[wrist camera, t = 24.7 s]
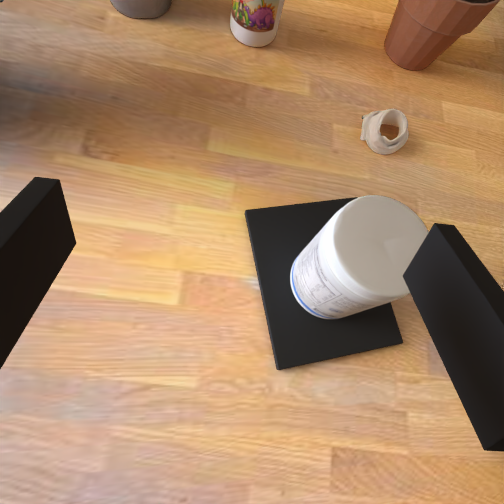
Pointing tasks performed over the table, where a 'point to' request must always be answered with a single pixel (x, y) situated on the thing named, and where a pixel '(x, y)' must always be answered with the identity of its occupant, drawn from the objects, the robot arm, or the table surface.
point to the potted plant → (431, 28)
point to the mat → (284, 302)
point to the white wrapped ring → (374, 137)
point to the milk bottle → (255, 21)
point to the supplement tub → (358, 258)
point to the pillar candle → (142, 7)
